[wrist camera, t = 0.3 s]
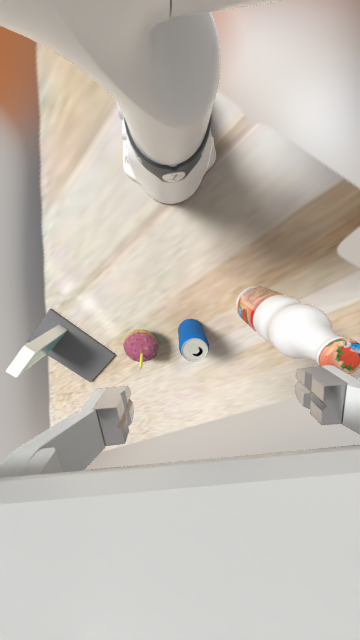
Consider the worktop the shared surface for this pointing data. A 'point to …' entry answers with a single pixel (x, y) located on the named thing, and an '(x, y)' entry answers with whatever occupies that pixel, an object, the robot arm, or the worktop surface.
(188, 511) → the robot arm
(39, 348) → the tile
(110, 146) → the worktop surface
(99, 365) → the mat
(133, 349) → the cupcake
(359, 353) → the fruit juice
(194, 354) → the beverage can
